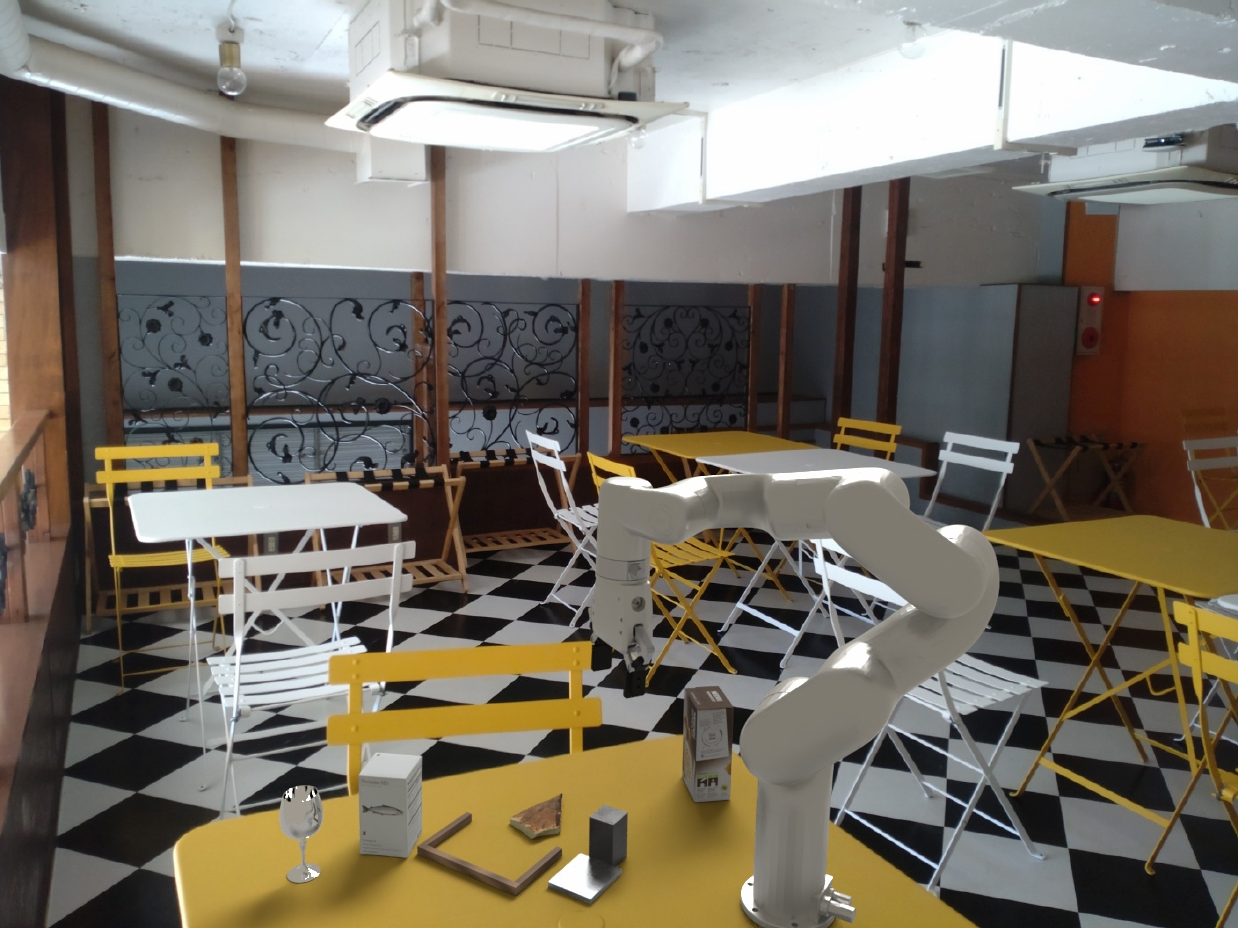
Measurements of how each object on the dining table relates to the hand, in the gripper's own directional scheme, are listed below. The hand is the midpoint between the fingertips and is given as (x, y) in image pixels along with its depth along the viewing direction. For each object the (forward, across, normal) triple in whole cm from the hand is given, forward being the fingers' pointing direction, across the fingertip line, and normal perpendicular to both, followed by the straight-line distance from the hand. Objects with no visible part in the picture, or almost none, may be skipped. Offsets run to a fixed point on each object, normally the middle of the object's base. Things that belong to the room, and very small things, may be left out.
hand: (617, 682), depth 131 cm
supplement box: (+28, +16, +28) cm, 42 cm away
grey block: (+27, -4, +4) cm, 27 cm away
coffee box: (+26, +9, -23) cm, 36 cm away
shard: (+28, +13, +6) cm, 31 cm away
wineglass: (+28, +15, +40) cm, 51 cm away
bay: (+27, +7, +16) cm, 32 cm away
